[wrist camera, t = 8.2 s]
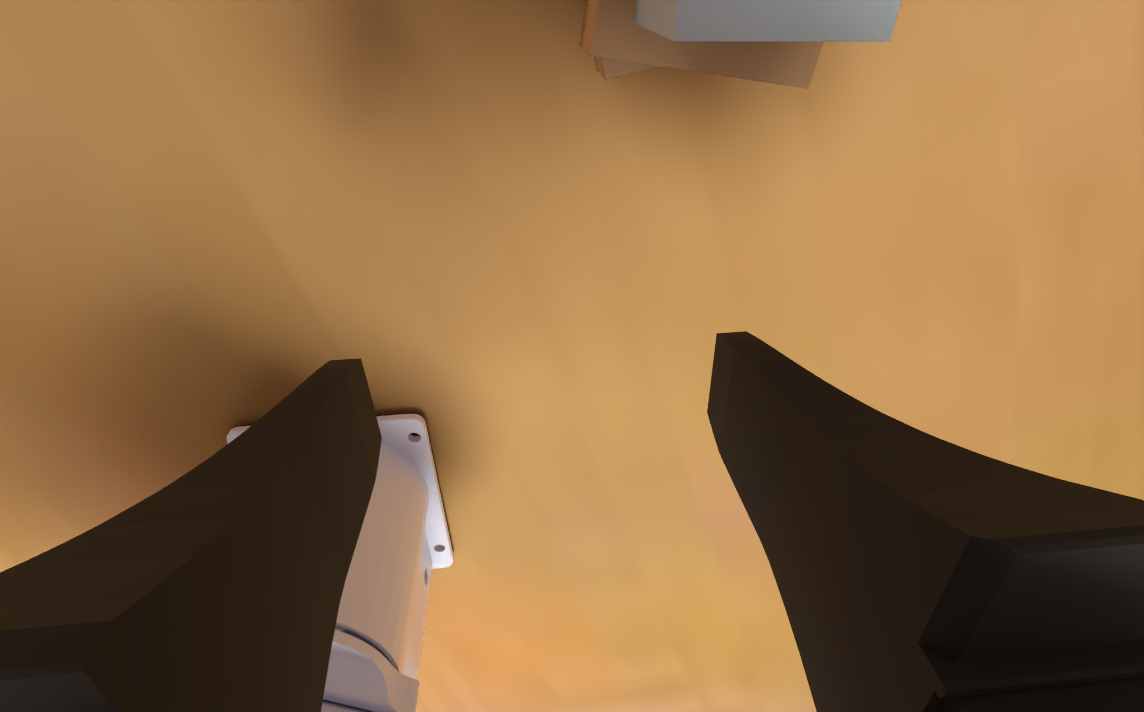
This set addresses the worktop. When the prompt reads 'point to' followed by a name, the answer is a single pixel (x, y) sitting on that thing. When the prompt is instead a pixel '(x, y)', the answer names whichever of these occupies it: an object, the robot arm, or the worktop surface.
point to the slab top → (694, 48)
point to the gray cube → (769, 19)
